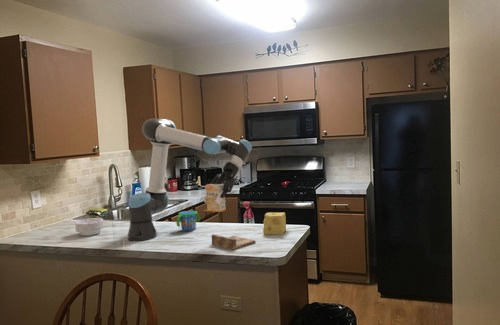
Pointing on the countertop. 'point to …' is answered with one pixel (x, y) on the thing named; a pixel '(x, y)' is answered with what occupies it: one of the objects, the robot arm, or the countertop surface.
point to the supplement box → (214, 197)
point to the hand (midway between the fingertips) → (210, 202)
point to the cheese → (274, 223)
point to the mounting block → (231, 241)
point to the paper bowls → (89, 226)
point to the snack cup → (187, 220)
